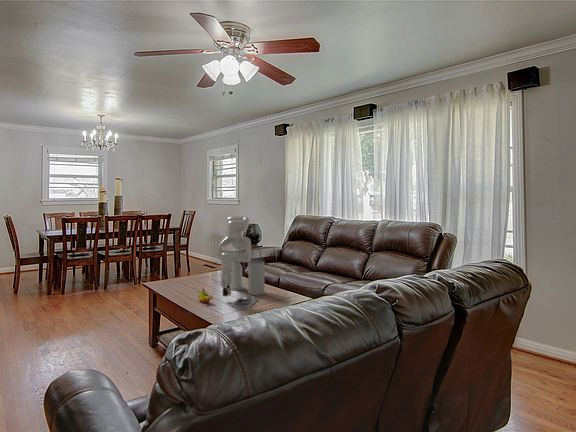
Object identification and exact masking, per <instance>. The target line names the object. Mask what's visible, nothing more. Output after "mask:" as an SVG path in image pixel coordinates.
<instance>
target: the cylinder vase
mask: <svg viewBox="0 0 576 432" xmlns="http://www.w3.org/2000/svg"><path fill="white" fill-rule="evenodd" d="M265 264H266V263H265V260H264V261H263V260H250V261H249V262H248V294H249V295H251V296H262V295H264V294H265V267H266V266H265Z"/></svg>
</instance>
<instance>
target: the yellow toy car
mask: <svg viewBox="0 0 576 432" xmlns="http://www.w3.org/2000/svg"><path fill="white" fill-rule="evenodd" d="M197 294H198V299H199V301H200V302H202V303H206V302H207V304H208V305H209V304H210V303H211V302H210V300H213V298H214V297H213V294H211V295H209V294H208V291H206V290H205V288H204V287H202V290H201V291H199V292H198V293H197Z"/></svg>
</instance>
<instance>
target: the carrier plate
mask: <svg viewBox="0 0 576 432" xmlns="http://www.w3.org/2000/svg"><path fill="white" fill-rule="evenodd" d="M257 301H259V298H257V297H252V296H240V297H239V298H237V299H236V300H235V301H233V302H232V303H231V304H230V307H233V308H234V307H236V308H237V307H238V308H249V309H250V308H251V307H252V306H254V304H255V303H257Z"/></svg>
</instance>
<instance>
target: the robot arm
mask: <svg viewBox="0 0 576 432" xmlns="http://www.w3.org/2000/svg"><path fill="white" fill-rule="evenodd" d="M248 217H249V216H243V215H241V216H239V215H238V216H236V215H234V216H233V215H232V216H228V217H227V224H226V225H227V226H226V231H225V232H226V233H225V238H224V239H223V240H222V241H221V242H220V243H219V245H218V247H217V253H216V258H217V260H218V261H220V263H221V265H220V267H221V269H220V270H221V272H220V273H221V275H220V286H221V288H222V296H223V295H224V296H223V297H227V295H228V290H227V288H231V291H241V290H244V289H245V286H243V283H244V282H243V265H242V264H241V263H249V261H252V260H251V259H252V241H251V238H249V237H247V236H246V237H243V232H245V231H246V230H247V228H248V226H249V224H250V219H249V218H248ZM228 245H231V248H232V249H236V250H224V248H225V247H226V246H228ZM241 249H242V250H241Z"/></svg>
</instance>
